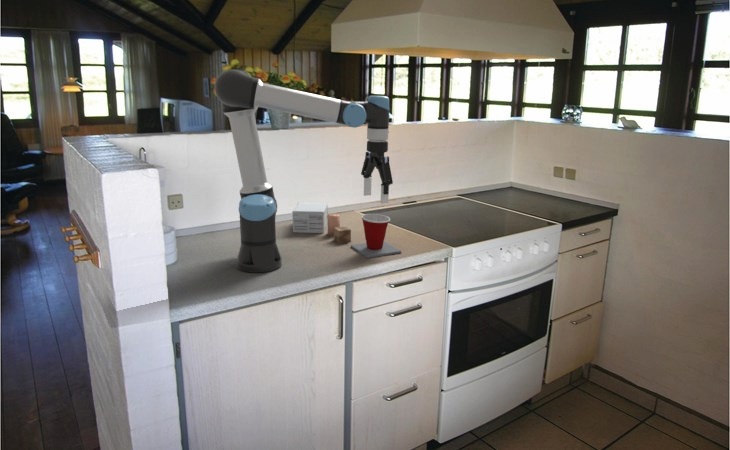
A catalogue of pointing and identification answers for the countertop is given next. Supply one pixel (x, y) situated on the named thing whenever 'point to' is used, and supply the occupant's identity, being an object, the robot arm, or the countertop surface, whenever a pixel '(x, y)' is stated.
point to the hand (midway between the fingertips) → (375, 199)
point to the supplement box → (310, 217)
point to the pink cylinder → (333, 223)
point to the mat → (369, 253)
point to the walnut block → (342, 234)
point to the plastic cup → (375, 230)
